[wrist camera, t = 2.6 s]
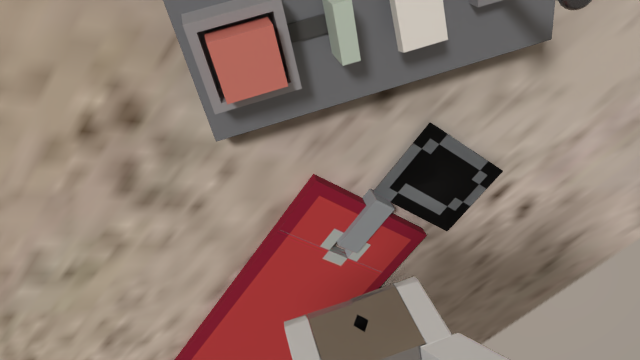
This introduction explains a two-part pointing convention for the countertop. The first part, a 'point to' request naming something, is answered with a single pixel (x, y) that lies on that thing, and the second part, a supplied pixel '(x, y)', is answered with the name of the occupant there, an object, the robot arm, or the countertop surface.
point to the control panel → (322, 66)
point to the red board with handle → (332, 262)
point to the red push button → (246, 59)
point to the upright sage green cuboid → (342, 30)
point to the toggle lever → (574, 4)
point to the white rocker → (418, 23)
